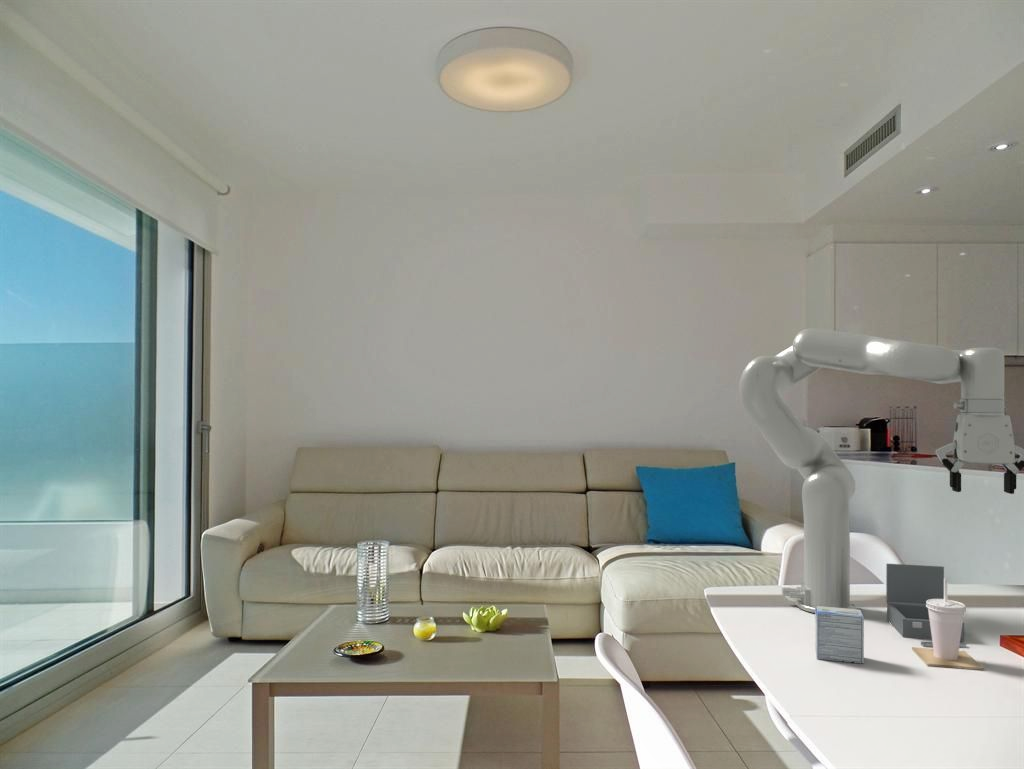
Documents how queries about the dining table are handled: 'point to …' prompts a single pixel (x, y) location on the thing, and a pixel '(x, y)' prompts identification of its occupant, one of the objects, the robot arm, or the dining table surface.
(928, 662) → the pad
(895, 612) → the case
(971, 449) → the robot arm
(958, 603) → the smoothie
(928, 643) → the rod
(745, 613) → the dining table surface
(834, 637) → the medicine box
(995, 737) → the dining table surface
